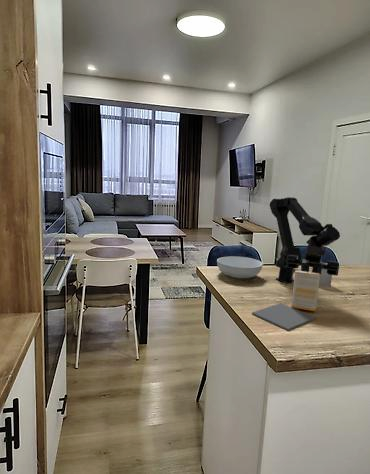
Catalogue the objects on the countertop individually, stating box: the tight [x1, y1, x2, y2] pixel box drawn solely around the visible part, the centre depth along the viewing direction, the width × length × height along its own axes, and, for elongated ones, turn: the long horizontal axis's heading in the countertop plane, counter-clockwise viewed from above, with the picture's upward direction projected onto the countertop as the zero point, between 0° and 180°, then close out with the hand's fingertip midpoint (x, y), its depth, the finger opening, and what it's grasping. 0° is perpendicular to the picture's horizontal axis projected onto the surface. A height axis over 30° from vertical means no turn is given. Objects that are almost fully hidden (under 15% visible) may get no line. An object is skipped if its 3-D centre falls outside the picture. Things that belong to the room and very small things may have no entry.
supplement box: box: [291, 269, 320, 312], centre depth 117 cm, size 8×5×13 cm, turn 71°
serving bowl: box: [216, 256, 264, 279], centre depth 154 cm, size 21×21×7 cm
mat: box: [251, 303, 317, 331], centre depth 110 cm, size 16×14×1 cm
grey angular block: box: [319, 262, 333, 288], centre depth 147 cm, size 4×7×10 cm, turn 76°
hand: (308, 283), depth 122 cm, fingers closed
